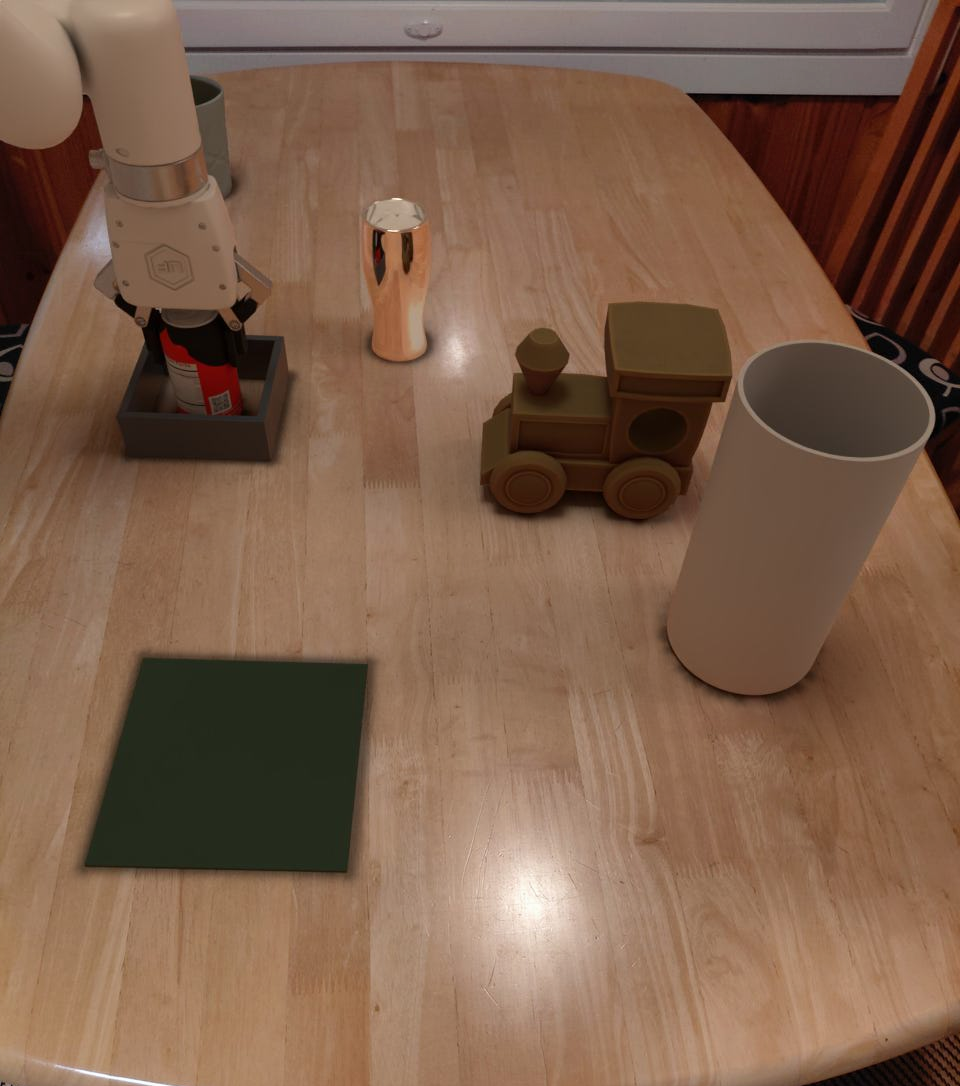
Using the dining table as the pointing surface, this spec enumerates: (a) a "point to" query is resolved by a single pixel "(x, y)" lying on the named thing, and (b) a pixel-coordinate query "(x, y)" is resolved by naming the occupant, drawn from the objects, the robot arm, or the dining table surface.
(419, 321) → the beer glass
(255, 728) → the mat
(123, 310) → the robot arm
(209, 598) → the dining table surface
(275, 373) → the box
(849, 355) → the cylinder vase
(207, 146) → the grey-green embossed pot
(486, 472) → the wooden toy train
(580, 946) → the dining table surface
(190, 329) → the beverage can
